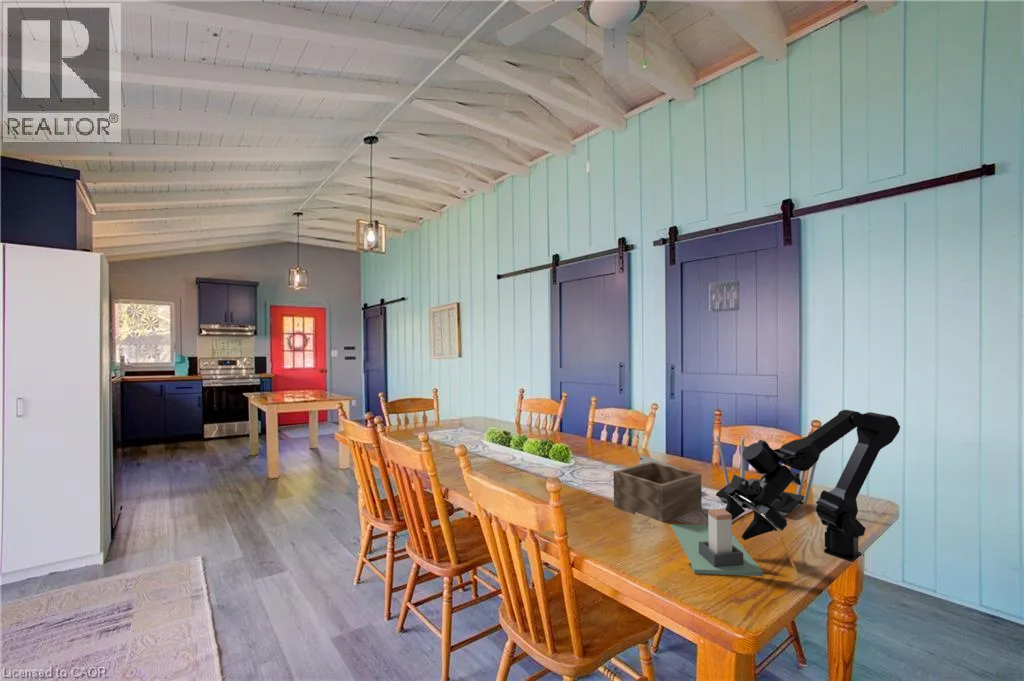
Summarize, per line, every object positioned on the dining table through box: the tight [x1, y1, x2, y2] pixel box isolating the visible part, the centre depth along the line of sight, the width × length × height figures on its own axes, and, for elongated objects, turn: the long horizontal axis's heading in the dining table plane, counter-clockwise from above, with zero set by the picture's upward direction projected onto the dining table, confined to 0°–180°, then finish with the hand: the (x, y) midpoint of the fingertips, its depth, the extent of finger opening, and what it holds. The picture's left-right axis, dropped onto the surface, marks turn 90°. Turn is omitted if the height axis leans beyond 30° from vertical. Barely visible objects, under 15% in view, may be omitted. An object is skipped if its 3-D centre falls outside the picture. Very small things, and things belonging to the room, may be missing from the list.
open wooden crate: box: [612, 462, 703, 523], centre depth 160 cm, size 20×20×12 cm
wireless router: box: [715, 435, 818, 517], centre depth 165 cm, size 34×23×20 cm
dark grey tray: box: [699, 541, 743, 567], centre depth 122 cm, size 8×8×3 cm
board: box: [669, 523, 764, 577], centre depth 129 cm, size 28×16×1 cm, turn 173°
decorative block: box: [637, 454, 680, 469], centre depth 189 cm, size 8×30×8 cm, turn 20°
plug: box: [707, 508, 733, 553], centre depth 121 cm, size 4×4×12 cm
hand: (732, 531), depth 122 cm, fingers open, 9 cm apart
